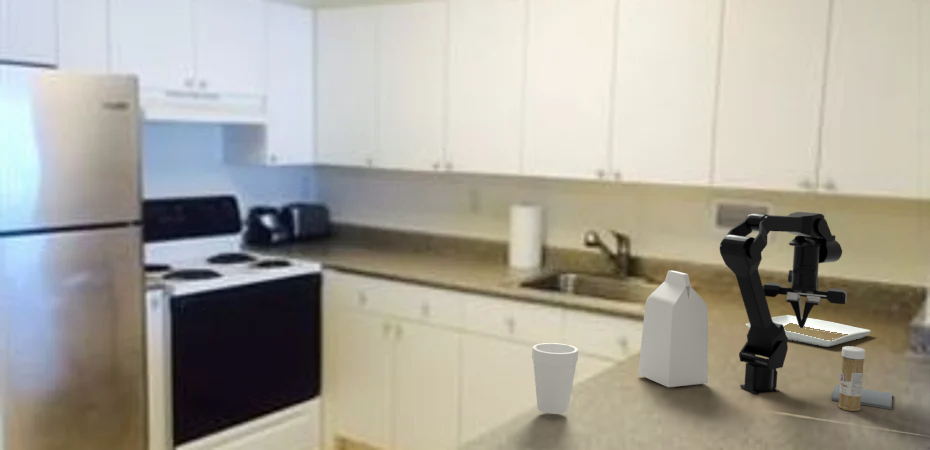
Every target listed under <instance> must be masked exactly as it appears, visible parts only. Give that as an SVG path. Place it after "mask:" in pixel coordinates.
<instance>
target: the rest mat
mask: <svg viewBox="0 0 930 450" xmlns="http://www.w3.org/2000/svg"><path fill="white" fill-rule="evenodd" d="M839 397H840V384H835V385H834V389H833V391H832V396H831V401H835V402H839ZM892 404H893V392H889V391H888V392H886V391H881V390H880V391H879V390H873V389H867V388H862V394H861V402H860V406H868V407H873V408H882V409H889V410H892V409H893V408H892V406H893V405H892Z"/></svg>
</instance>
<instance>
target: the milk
mask: <svg viewBox="0 0 930 450" xmlns="http://www.w3.org/2000/svg"><path fill="white" fill-rule="evenodd" d="M689 277H690V276H689V273H685V272H681V271H677V270H668V271H667V273H666V277H665V279H664V281H663V282H662V283H660V285H659V286H658V287H657V288H655V289H654V291H653V292H652V293H651V294H649V296H648V297H647V299H646V301H645V305H644V314H643V324H642V332H641V342H640V351H639V352H640V353H639V363H638V370H637V374H638V375H639V376H641V377H643V378H647V379H648V380H650V381H653V382H656V383H658V384H660V385H663V387H667V388H675V387H681V386H683V387H685V386H693V385H703V384H708V381H709V379H708V377H709V372H708V371H709V370H708V369H709V367H708V366H709V356H708V355H709V308H708V305H707V303H706V302H705V300H704V299H703V298H702V297H701V296H700V295H699V293H697V291H696V290H695V289H694V288H693V287H692V286H691V281H690V278H689Z"/></svg>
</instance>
